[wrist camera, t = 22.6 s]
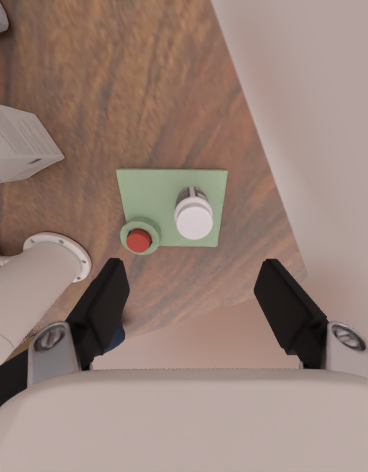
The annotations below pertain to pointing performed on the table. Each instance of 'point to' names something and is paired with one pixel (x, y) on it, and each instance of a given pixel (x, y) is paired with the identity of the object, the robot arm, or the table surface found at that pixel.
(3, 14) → the alarm clock
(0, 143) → the cosmetic box
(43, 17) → the table surface
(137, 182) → the scale
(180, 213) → the pill bottle
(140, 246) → the button
